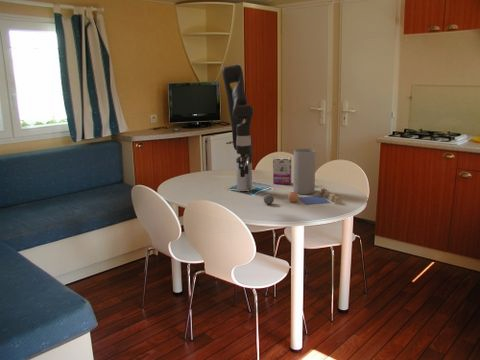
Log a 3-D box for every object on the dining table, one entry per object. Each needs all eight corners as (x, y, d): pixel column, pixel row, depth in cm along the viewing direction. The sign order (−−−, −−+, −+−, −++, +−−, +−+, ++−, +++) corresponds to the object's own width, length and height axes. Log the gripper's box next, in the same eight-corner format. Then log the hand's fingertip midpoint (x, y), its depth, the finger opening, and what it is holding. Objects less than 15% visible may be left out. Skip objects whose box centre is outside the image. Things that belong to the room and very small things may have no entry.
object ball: (286, 201, 254) (286, 191, 253) (296, 200, 255) (296, 190, 254) (289, 203, 249) (290, 194, 247) (299, 203, 250) (299, 193, 249)
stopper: (320, 194, 266) (321, 188, 265) (324, 194, 266) (324, 188, 265) (335, 204, 247) (335, 197, 246) (338, 203, 247) (338, 197, 246)
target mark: (297, 197, 260) (297, 197, 260) (320, 196, 263) (320, 195, 263) (306, 204, 246) (306, 204, 246) (330, 202, 249) (330, 202, 249)
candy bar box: (291, 182, 293) (291, 157, 289) (290, 184, 289) (290, 159, 285) (274, 182, 296) (274, 157, 292) (273, 184, 291) (273, 158, 287)
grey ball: (262, 203, 251) (262, 193, 250) (272, 202, 252) (272, 192, 251) (265, 206, 246) (265, 195, 244) (275, 205, 247) (275, 195, 246)
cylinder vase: (317, 190, 274) (318, 149, 268) (309, 195, 263) (310, 153, 257) (298, 188, 280) (298, 148, 274) (289, 193, 270) (290, 151, 264)
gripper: (239, 142, 242) (240, 173, 245) (233, 146, 229) (234, 177, 232) (253, 142, 240) (254, 173, 243) (247, 145, 227) (248, 178, 230)
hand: (244, 175), depth 238 cm, fingers open, 8 cm apart
